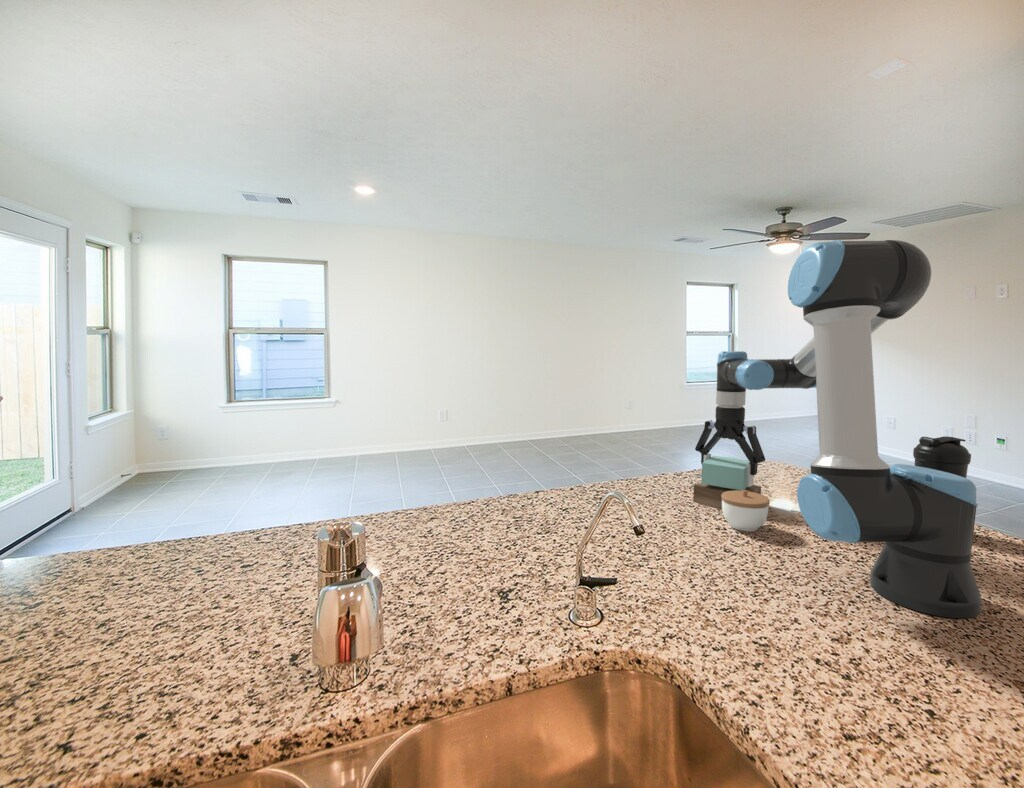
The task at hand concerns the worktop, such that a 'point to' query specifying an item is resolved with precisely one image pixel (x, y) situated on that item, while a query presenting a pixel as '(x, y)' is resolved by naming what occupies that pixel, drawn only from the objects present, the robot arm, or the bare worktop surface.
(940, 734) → the worktop surface
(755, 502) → the lidded jar
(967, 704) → the worktop surface
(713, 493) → the walnut base
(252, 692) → the worktop surface
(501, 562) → the worktop surface
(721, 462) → the teal brick
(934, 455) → the water bottle
